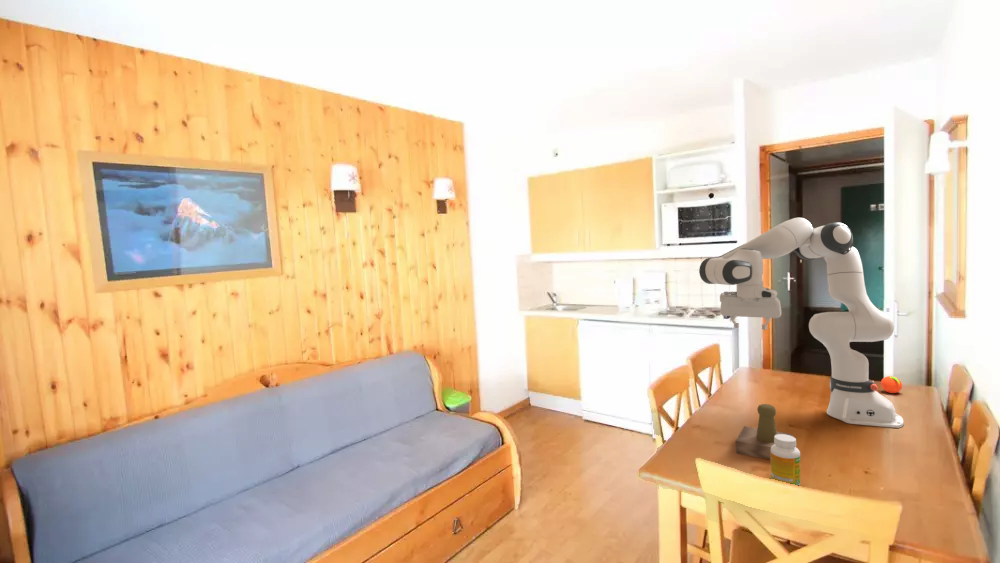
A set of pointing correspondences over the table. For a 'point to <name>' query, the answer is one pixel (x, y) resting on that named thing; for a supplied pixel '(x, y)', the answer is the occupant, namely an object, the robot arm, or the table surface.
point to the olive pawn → (766, 423)
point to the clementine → (891, 384)
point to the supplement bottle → (785, 459)
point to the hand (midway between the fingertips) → (750, 328)
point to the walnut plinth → (753, 444)
